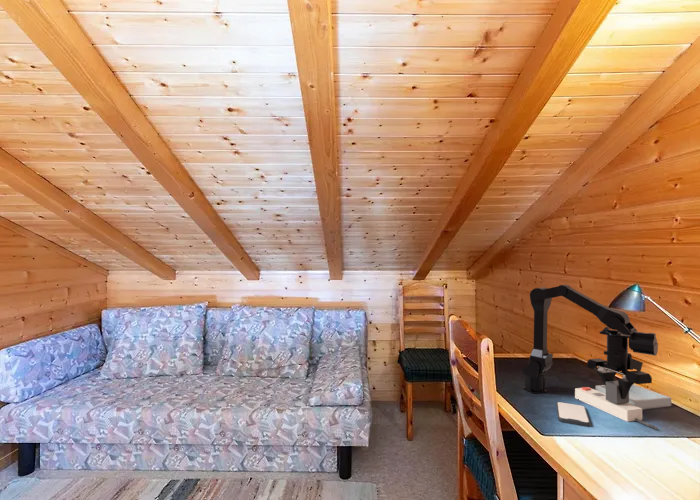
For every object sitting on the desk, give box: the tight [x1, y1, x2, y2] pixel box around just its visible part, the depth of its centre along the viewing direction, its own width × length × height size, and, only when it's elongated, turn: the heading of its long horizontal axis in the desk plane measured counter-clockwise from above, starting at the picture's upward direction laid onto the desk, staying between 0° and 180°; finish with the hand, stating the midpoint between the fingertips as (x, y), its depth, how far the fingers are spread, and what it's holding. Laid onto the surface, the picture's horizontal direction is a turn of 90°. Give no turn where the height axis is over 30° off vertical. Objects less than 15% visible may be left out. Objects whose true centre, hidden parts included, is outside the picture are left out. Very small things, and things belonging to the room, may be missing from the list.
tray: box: [595, 384, 672, 411], centre depth 136 cm, size 16×16×3 cm
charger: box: [606, 379, 629, 404], centre depth 124 cm, size 4×5×8 cm
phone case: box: [555, 401, 591, 428], centre depth 123 cm, size 9×2×16 cm
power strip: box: [574, 386, 659, 431], centre depth 125 cm, size 27×6×4 cm, turn 14°
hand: (617, 396), depth 124 cm, fingers closed on charger, 4 cm apart
